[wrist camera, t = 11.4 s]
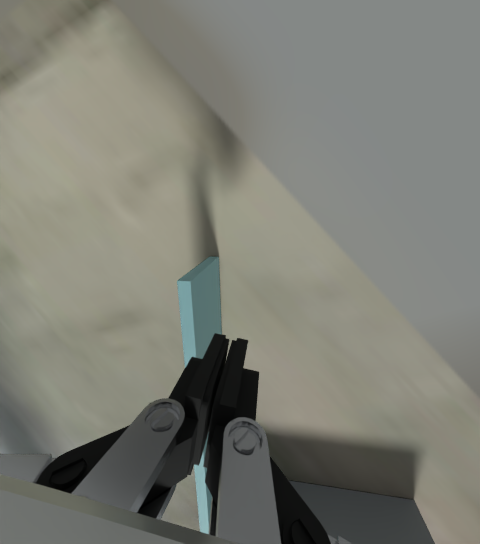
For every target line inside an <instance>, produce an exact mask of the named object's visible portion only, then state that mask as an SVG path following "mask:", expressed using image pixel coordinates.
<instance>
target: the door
mask: <svg viewBox="0 0 480 544" xmlns="http://www.w3.org/2000/svg"><path fill="white" fill-rule="evenodd" d="M177 285H178V296H179V306H180V317H181V328H182V339H183V350H184V361H185V368H186V366H187V364H188V362H189V360H190V359H191V357H196V358H201V359H203V357H204V355H205V353H206V350H207V348H208V346H209V344H210V342H211V340H212V338H213V336H214V334H215V333H217V334H221V335H222V331H221V305H220V279H219V257H208V258H207V259H206V260H204V261H203V262H202V263H200V264H199V265H198V266H196V267H195V268H194V269H192V270H191V271H190V272H188V273H187V274H186V275H184V276H183V277H182V278H180V279H179V280H178V281H177ZM207 440H208V436H207ZM207 440H206V443H205V447H204V450H203V454H202V457H201V461H200V464H199V466H198V465H194V469H195V480H196V491H197V502H198V512H199V523H200V532H202V533H206V534H209V522H210V511H211V501H212V495H211V493H210V491H209V489H208V487H207V485H206V483H205V478H206V472H207V468H205V467H203V465H204V458H205V452H206V446H207Z"/></svg>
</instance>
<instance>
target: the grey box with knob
mask: <svg viewBox="0 0 480 544" xmlns="http://www.w3.org/2000/svg"><path fill="white" fill-rule="evenodd" d="M288 481H289V480H288ZM289 482H290V483H291V485H292V486H293V487H294V489H295V490H296V491H297V493H298V494H299V495H300V496H301V498H302V499H303V500H304V502H305V503H306V504H307V506H308V507H309V508H310V510H311V511H312V512H313V514H314V515H315V516H316V517H317V519H318V520H319V521H320V523H321V524H322V526H323V528H324V529H325V531H326V532H327V534H328V535H330V536H331V537H333V538H335V539H337V538H338V536H340V537H342V538H343V539H345V540H347V541H349V542H350V543H352V544H435V543H434V541H433V539H432V537H431V534H430V532H429V530H428V528H427V526H426V524H425V522H424V520H423V518H422V516H421V514H420V511H419V509H418V507H417V505H416V503H415V501H414V500H411V499H404V498H398V497H392V496H385V495H379V494H372V493H366V492H360V491H353V490H347V489H340V488H334V487H328V486H321V485H315V484H308V483H302V482H296V481H289Z"/></svg>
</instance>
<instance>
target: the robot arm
mask: <svg viewBox="0 0 480 544" xmlns="http://www.w3.org/2000/svg"><path fill="white" fill-rule="evenodd" d="M225 338H226V335H221V334H217V333H215V334H214V336H213V338H212V340H211V342H210V344H209V346H208V348H207V350H206V353H205V355H204V357H203V359H201V358H196V357H191V359H190V360H189V362H188V364H187V366H186V368H185V369H184V371H183V373H182V375H181V377H180V378H179V380H178V382H177V384H176V386H175V387H174V389H173V391H172V393H171V395H170V396H169V398H167V399H159V400H156V401H154V402H152V403H150V404H149V405H148V406H147V407H145V408H144V410H143V411H142V412H141V413H140V414H139V415H138V417H137V418H136V419H135V420H134V421H133V422H132V424H131V425H129V426H127V427H125V428H122V429H120V430H118V431H115V432H113V433H111V434H108V435H106V436H104V437H101V438H99V439H96V440H94V441H92V442H89V443H87V444H85V445H82V446H80V447H78V448H75V449H73V450H71V451H68V452H66V453H65V454H63V455H61V456H59V457H58V458H52V457H51V454H0V544H352V543H350V542H349V541H347V540H345V539H343V538H342V537H340V536H338V538H337V539H335V538H333V537H331V536H330V535H328V534H327V532H326V531H325V529H324V528H323V526H322V524H321V523H320V521H319V520H318V519H317V517H316V516H315V515H314V514H313V512H312V511H311V510H310V508H309V507H308V506H307V504H306V503H305V502H304V500H303V499H302V498H301V496H300V495H299V494H298V493H297V491H296V490H295V489H294V487H293V486H292V485H291V483H290V482H289V481H288V479H287V478H286V477H285V476H284V474H283V473H282V472H281V470H280V469H279V468H278V466H277V465H276V464H275V462H274V461H273V460H272V458H271V457H270V456H269V449H268V441H267V437H266V433H265V431H264V430H263V428H262V427H261V426H260V425H259V424H258V423H257V422H256V421H255V420H256V407H257V393H258V380H259V372H257V371H253V370H249V369H244V368H243V366H244V360H245V355H246V349H247V344H248V340H244V339H240V338H237V341H235V340H232V343H231V346H230V350H229V353H228V356H227V350H228V344H229V339H225ZM226 356H227V360H226ZM225 362H226V363H225ZM207 436H208V440H207ZM206 440H207V446H206V452H205V458H204V465H203V467H205V468H207V472H206V478H205V483H206V485H207V487H208V489H209V491H210V493H211V495H212V501H211V511H210V522H209V534H206V533H202V532H199V531H196V530H192V529H189V528H186V527H182V526H179V525H175V524H172V523H169V522H165V521H162V520H161V518H162V515H163V513H164V511H165V509H166V507H167V505H168V503H169V501H170V499H171V497H172V495H173V493H174V490H175V487H176V484H177V483H178V482H180V481H181V480H183V479H184V478H186V477H187V475H191V472H192V469H193V466H194V465H198V466H199V464H200V461H201V457H202V454H203V450H204V447H205V443H206Z"/></svg>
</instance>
